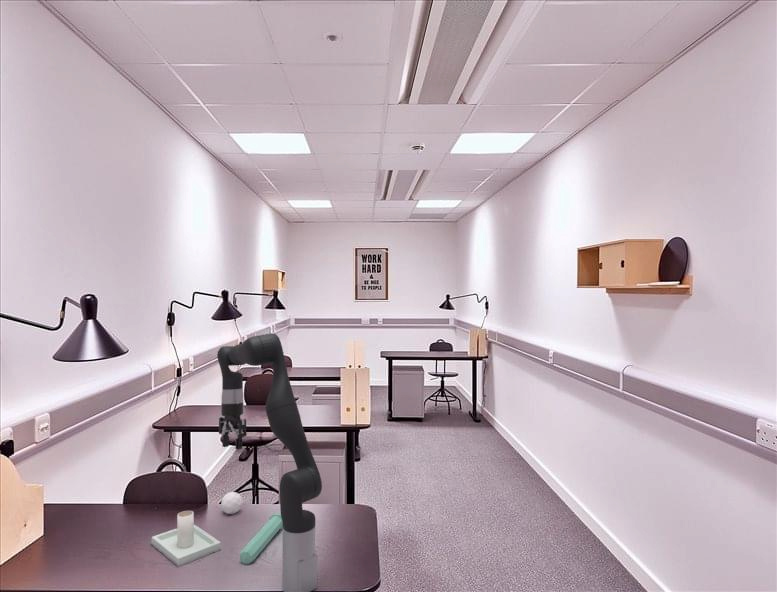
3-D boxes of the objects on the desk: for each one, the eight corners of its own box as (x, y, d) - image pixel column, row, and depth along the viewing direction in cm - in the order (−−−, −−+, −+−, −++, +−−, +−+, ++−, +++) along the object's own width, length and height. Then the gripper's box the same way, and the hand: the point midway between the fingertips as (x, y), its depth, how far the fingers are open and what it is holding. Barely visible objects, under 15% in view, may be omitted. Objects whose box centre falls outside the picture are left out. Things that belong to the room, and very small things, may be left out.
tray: (220, 550, 161) (220, 542, 161) (178, 566, 150) (178, 558, 150) (192, 530, 174) (192, 523, 174) (151, 544, 164) (151, 536, 164)
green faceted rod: (249, 546, 151) (281, 511, 176) (233, 552, 152) (267, 515, 177) (256, 565, 151) (287, 526, 175) (239, 570, 152) (273, 531, 176)
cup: (196, 543, 163) (196, 513, 163) (182, 549, 159) (181, 518, 159) (189, 539, 166) (188, 509, 166) (174, 545, 162) (174, 514, 162)
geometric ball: (225, 521, 188) (213, 504, 187) (239, 506, 194) (227, 490, 194) (236, 516, 183) (223, 499, 183) (250, 501, 190) (237, 484, 190)
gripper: (212, 401, 179) (212, 447, 177) (234, 403, 170) (233, 451, 168) (230, 400, 185) (230, 444, 183) (252, 401, 176) (252, 448, 174)
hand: (232, 447), depth 176 cm, fingers open, 8 cm apart
